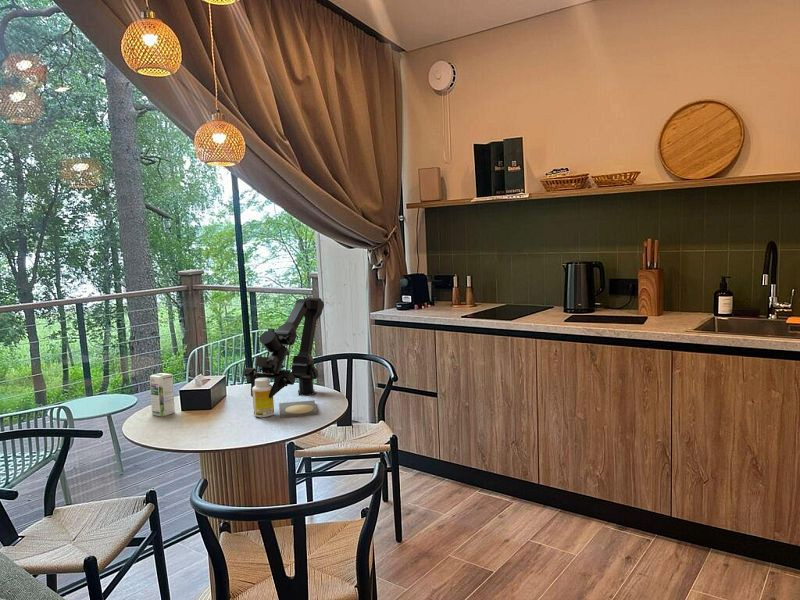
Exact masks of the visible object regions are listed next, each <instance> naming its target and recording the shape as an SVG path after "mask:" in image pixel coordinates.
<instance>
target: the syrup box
mask: <svg viewBox="0 0 800 600" xmlns="http://www.w3.org/2000/svg"><path fill="white" fill-rule="evenodd" d="M149 384H150V385H149V386H150V400H151V403H150V404H151V415H152V416H157V417H158V416H159V417H165V416H168V415H172V414H174V413H176V411H175V409H176V408H175V395H174V394H175V392H174V391H175V390H174V376H173V374H172V373H164V372H160V373H154V374H151V375H150V376H149Z"/></svg>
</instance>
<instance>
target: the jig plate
mask: <svg viewBox="0 0 800 600" xmlns="http://www.w3.org/2000/svg"><path fill="white" fill-rule="evenodd" d="M278 409H279V410H278V411H279V418H280V417H284V418H292V417H293V416H295V417H306V416H313V415H318V409H317V406H316V402H315V400H302V401H292V402H291V401H290V402H288V401H287V402H279V403H278ZM305 415H306V416H305ZM293 418H294V417H293Z"/></svg>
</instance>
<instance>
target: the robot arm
mask: <svg viewBox="0 0 800 600" xmlns="http://www.w3.org/2000/svg"><path fill="white" fill-rule="evenodd" d="M324 307H325V302H324V301H323V300H322V298H321V297H305V298H298V299H296V300H295V304H294V306H293V309H292V310H291V311H290V314H289V315H288V317H287V319H286V321H285V322H284V323H283V324H281V325H279V326H278V328H277V329H276V330H275V329H274V328H268V329H267V331H264V332H263V333H261V335H260V336H259V339H258V340H259V342H260V343H261V345H262V346H263V347H264V348H265V350H266V351H267V352H268V353H269V355H268V356H267V357H266V356H256V359H255V367H259V370H260V372H259V371H258V370H257V369H256V368H254V367H246V368H244V370H243V372H242V375H243V376H244V377H245V378H246V380H247V381H248V382H250V396H251V398H253V392H252V388H253V387H254V386H255V379H258V378H269V380H273V384H272V389H271V391H270V394H269V398H272V397H273V398H274V396H275V395H276V394H278V393H279V392H280V391H281V390H283V389H284V388H285V387H288V385H289V386H291V385H294V384H295V382H296V379H298V390H297V394H298V396H305V395H315V394H316V391H315V388H314V380H316V379H318V378H319V371H318V370H317V368H316V366H315V360H314V357H313V355H312V352H313V346H314V339H315V333H316V327H317V320H319V318H320V317H321V316H322V314H323V310H324ZM303 318H304V321H303V327H302V334H301V339H300V345H299V352H298V353H297V354H296V355H294V356H293V357H292V364H291V370H289V369H288V370H287V369H284V366H285V365H284V364H283V363H284V362H285V359H286V356H290V354H291V353H290V351H289V348H288V347H287V346H293V345H294V344H295V343H296V339H297V338H298V337H297V336H298V333H297V329H298V327H299V326H300V324H301V323H302V320H303Z"/></svg>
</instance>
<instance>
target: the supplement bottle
mask: <svg viewBox="0 0 800 600" xmlns="http://www.w3.org/2000/svg"><path fill="white" fill-rule="evenodd" d="M270 383H271V382H270V379H269V378H258V379H255V386H254V387H253V388H252V392H253V397H252V405H253V415H254V416H255V417H256V418H267V417H271V416H272V415H274V413H275V406H274V405H275V404H274V403H275V401H274V396H273V397H272V398H269V394H270V391H271V389H272V386H273V384H270Z"/></svg>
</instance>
